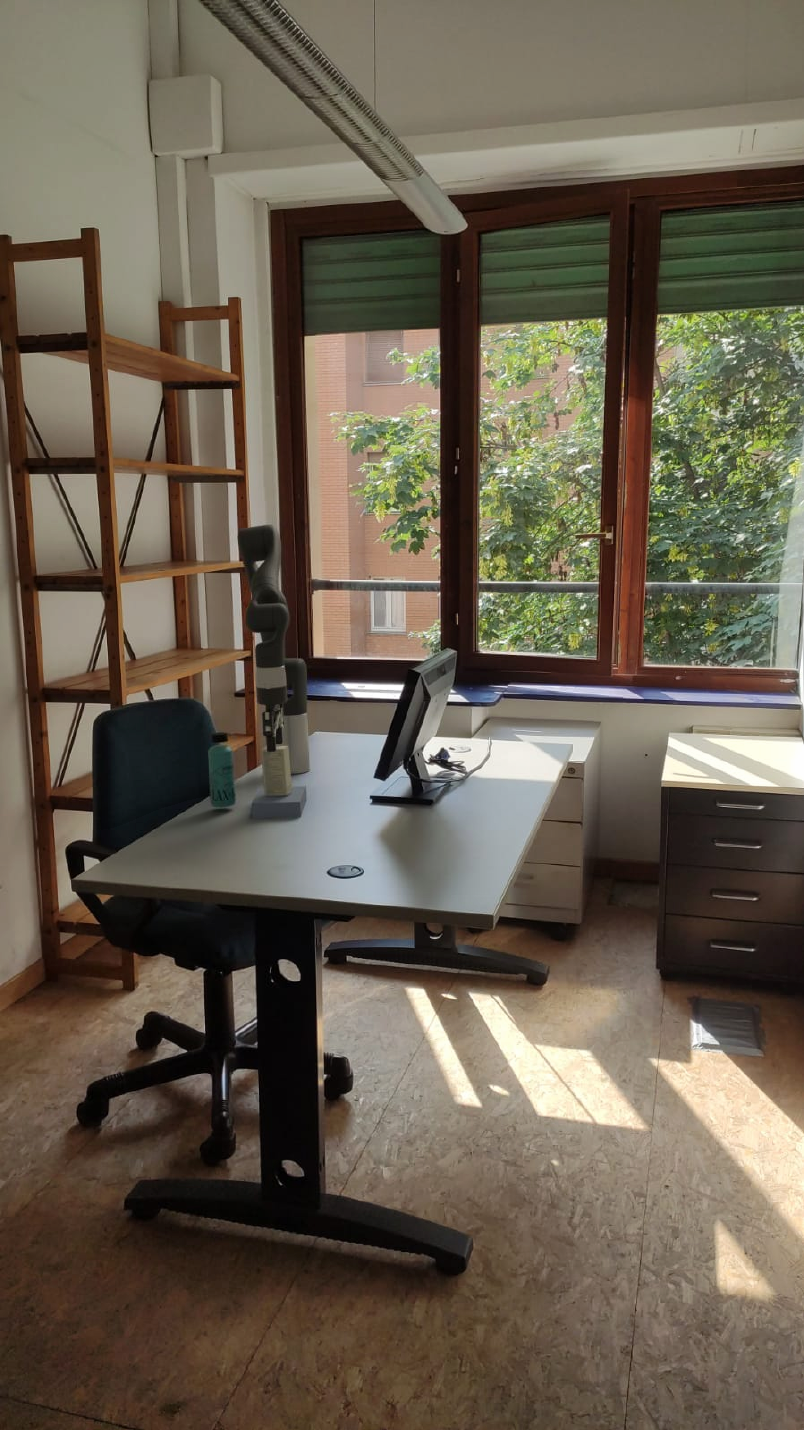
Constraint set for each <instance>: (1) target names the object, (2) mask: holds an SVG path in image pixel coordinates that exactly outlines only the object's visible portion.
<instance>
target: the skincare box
mask: <svg viewBox="0 0 804 1430" xmlns="http://www.w3.org/2000/svg"><path fill="white" fill-rule="evenodd" d="M260 755H261V756H260V759H261V767H262V769H261V770H262V777H263V787H264V792H265V796H284V795H288V794H290V793H291V792H292V787H293V786H292V774H291V772H290V760H289V749H288V746H277V745H276V751H275V752H268V751H267V745H265V746H264V747H262V748H261V749H260Z"/></svg>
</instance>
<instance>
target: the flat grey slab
mask: <svg viewBox="0 0 804 1430" xmlns="http://www.w3.org/2000/svg"><path fill="white" fill-rule="evenodd" d="M307 800H308V799H307V786H306V785H304V786H303V785H302V786H301V785H299V786H296V785H295V786H292V792H291V793H290V794H288V795H284V796H265V792H264V786H263V787H259V789H258V790H257V792H256V795H254V798H253V800H252V802H251V818H252V819H253V820H254V819H282V818H284V819H285V818H301V817H302V815H303V812H304V809H305V807H306V803H307Z"/></svg>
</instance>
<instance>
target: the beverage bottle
mask: <svg viewBox="0 0 804 1430" xmlns="http://www.w3.org/2000/svg"><path fill="white" fill-rule="evenodd" d="M228 741H229V736H228V733H227V732H224V731H223V732H222V731H220V732H214V733H212V734H211V743H213V744H216V745H213V746H211V747H210V748H209V749H207V753H208V755H207V757H208V771H209V772H208V773H209V774H208V775H209V776H208V778H209V781H208V782H209V798H210V801H209V802H210V804H211V806H212V807H213V808H229V807H232V806H234V805H235V804H236V801H237V800H236V798H237V797H236V796H237V794H236V787H235V770H234V769H235V765H234V754H233V753H234V750H233V749H232V747H231V746H229V745H228V744H221V743H227V742H228ZM217 744H218V745H217Z"/></svg>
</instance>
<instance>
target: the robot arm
mask: <svg viewBox="0 0 804 1430" xmlns="http://www.w3.org/2000/svg"><path fill="white" fill-rule="evenodd" d="M237 546H238V550H239V554H240V558H241V560H242V564H243V567H244V570H245V571H244V572H245V574H246V578H247V581H248V584H249V585H248V586H249V590H250V595H251V599H250V602H249V604H248V605H247V609H246V612H245V616H244V617H245V624H246V627H247V629H248V630H249V631H250V632H252V633H256V634H260V638H261V642H259V643H257V644H255V647H254V653H255V654H254V657H255V687H256V688H255V689H256V690H255V691H256V702H257V704H259V705H261V706H263V705H264V706H265V710H264V711H262V712H261V716H262V717H261V719H262V737H265V742H266V746H267V751H268V752H275V751H276V746H288V749H289V760H290V772H291V775H292V774H302V773H306V772H309V771H310V770H311V765H310V763H311V762H310V744H309V727H308V726H309V723H308V694H307V693H308V687H307V686H308V671H307V670H308V668H307V664H306V662H305V660H304V658H297V657H295V658H293V657H292V658H291V657H288V658H287V657H286V658H285V653H284V650H285V649H284V648H285V637H286V632H287V630H288V628H289V625H290V623H291V622H290V621H291V617H290V612H289V607H288V603H287V599H286V597H285V595H284V594H283V592H282V591H281V590H280V583H279V577H280V576H279V575H280V574H279V573H280V567H281V560H282V559H281V558H282V541H281V537H280V533H279V530H278V527H276V526H275V525H273V524H264V525H263V524H262V525H257V526H249V527H244V528H241V529H239V531H238V532H237ZM259 562H262V563H261V564H260V565H259V566H258V564H257V563H259ZM288 691H292V696H290V697H289V698H288Z"/></svg>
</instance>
